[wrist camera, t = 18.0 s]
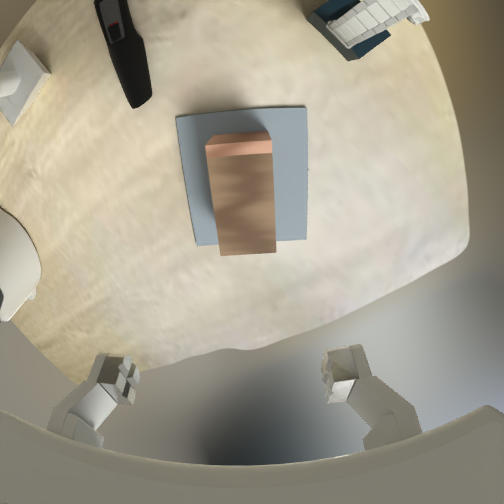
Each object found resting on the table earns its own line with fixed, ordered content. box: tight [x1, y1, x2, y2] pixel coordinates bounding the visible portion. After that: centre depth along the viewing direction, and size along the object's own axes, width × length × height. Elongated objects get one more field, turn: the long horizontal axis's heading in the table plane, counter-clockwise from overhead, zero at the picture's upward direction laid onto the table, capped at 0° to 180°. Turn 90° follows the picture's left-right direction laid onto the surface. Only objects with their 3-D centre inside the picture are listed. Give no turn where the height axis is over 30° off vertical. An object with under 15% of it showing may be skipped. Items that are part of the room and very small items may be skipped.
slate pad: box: [176, 108, 308, 246], centre depth 27 cm, size 12×14×1 cm
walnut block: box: [205, 131, 276, 256], centre depth 24 cm, size 5×5×10 cm
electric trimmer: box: [94, 0, 152, 109], centre depth 17 cm, size 4×15×3 cm, turn 14°
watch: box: [307, 0, 429, 61], centre depth 13 cm, size 6×8×11 cm
